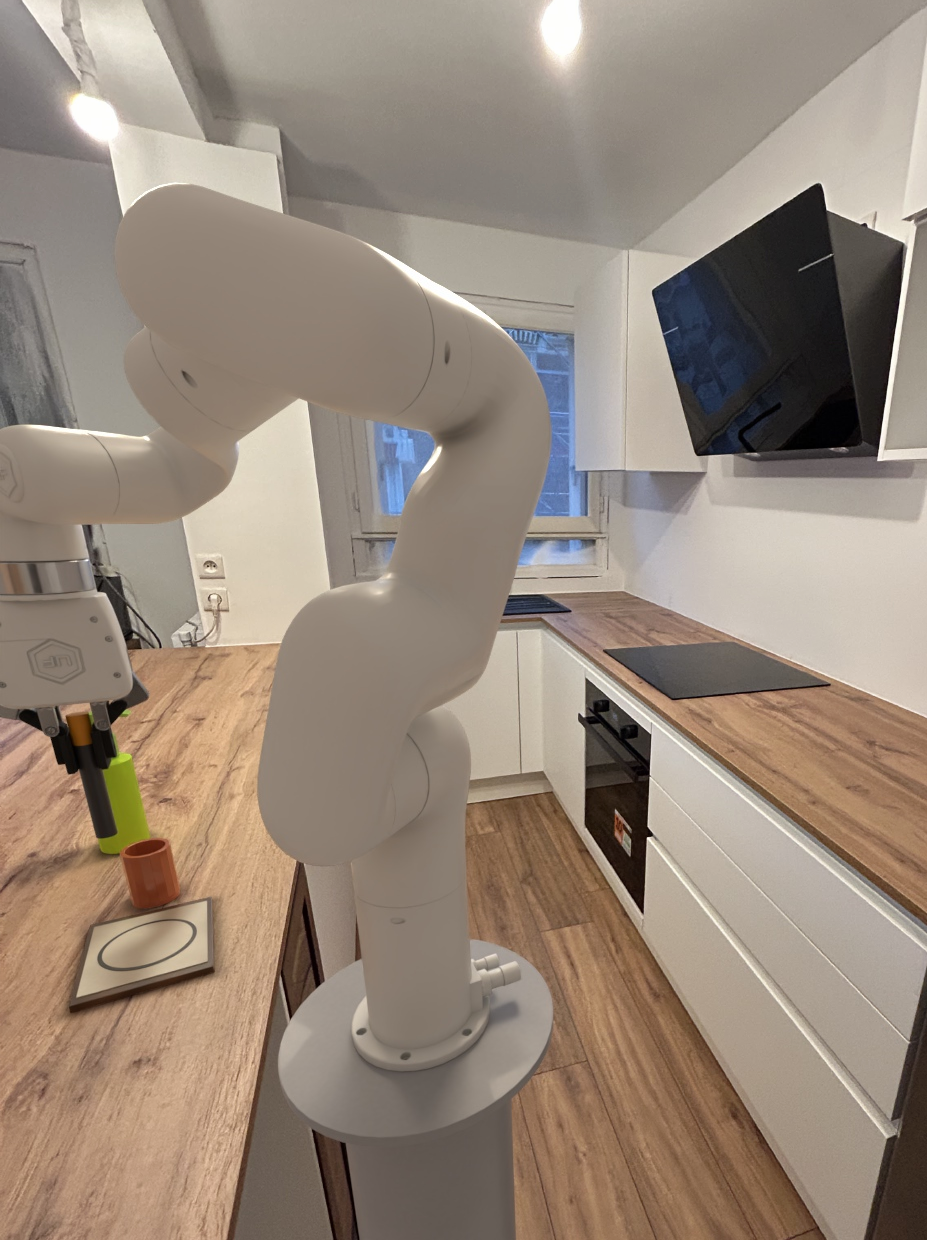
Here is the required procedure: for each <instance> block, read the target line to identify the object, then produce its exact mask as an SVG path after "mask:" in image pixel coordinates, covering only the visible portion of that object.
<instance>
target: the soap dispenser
mask: <svg viewBox="0 0 927 1240" xmlns="http://www.w3.org/2000/svg"><path fill="white" fill-rule="evenodd" d="M87 712H88V713H89V716H90V720H91V724H93V722H94V720H93V716H92V712H91V710H90V711H87ZM131 713H132V710H130V709H126V710H125V711H124V712H123V713H122V714H121V715H120V716H119V717H118V718H127V717H129V716H130V715H131ZM112 734H113V738H114V742H115V746H116V751H117V757H114V758H111V763H110V766H109V769H104V770H103V773H104V777H105V781H106V786H107V790H108V794H109V798H110V802H111V806H112V810H113V814H114V818H115V823H116V827H117V831H118V833H117V834H116V835H114V836H112V837H109V838H103V839H99V838H97V841H98V846H99V849H100V852H102V853H103V854H108V855H115V854H116V855H117V854H119V855H120V851H121V850H122V849H123V848H124V847H126V846H128V845H130V844H132V843H134V842H137V841H141V840H145V839H150V838H152V837H151V833H150V828H149V825H148V820H147V815H146V811H145V807H144V803H143V798H142V795H141V790H140V785H139V781H138V777H137V773H136V768H135V763H134V758H133V755H132V754H130V753H129V752H128V753H127V752H120V749H119V745H118V740H117V736H116V734H115V732H112Z"/></svg>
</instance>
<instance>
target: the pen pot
mask: <svg viewBox="0 0 927 1240" xmlns="http://www.w3.org/2000/svg"><path fill="white" fill-rule="evenodd" d="M119 857H120V861H121V865H122V869H123V873H124V877H125V881H126V885H127V890H128V895H129V897H130V901H131V903H132V904H131V905H132V906H133V907H134V908H137V909H151V908H153V909H154V908H157V907H160V906H164V905H166V904H169V903H170V902H172V901H174V900H175V899H177V898H178V897H179V896H180V894H181V887H180V881H179V876H178V872H177V867H176V862H175V858H174V853H173V850H172V844H171V841H170V840H169V839H167V838H164V837H151V838H150V839H145V840H141V841H137V842H134V843H132V844H130V845H128V846H126V847H124V848H123V849H122V850H121V851H120V853H119Z"/></svg>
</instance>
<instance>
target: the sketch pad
mask: <svg viewBox="0 0 927 1240" xmlns="http://www.w3.org/2000/svg"><path fill="white" fill-rule="evenodd" d="M213 900H214V899H213V897H212V896H209V897H204V898H200V899H195V900H190V901H187V902H183V903H178V904H177V903H176V904H174V905H169V906H166V907H165V906H164V907H161V908H157V909H152V910H148V911H143V912H140V913H139V912H138V913H134V914H131V915H125V916H122V917H118V918H113V919H109V920H105V921H104V920H103V921H100V922H97V923H92V924H90V925H89V928H88V933H87V936H86V940H85V943H84V947H83V951H82V955H81V957H80V958H81V959H80V962H79V967H78V970H77V973H76V976H75V981H74V985H73V987H72V988H73V989H72V992H71V995H70V1000H69V1003H68V1010H69V1013H71V1014H72V1013H76V1012H79V1011H83V1010H85V1009H89V1008H93V1007H97V1006H100V1005H103V1004H104V1005H105V1004H107V1003H111V1002H114V1001H117V1000H121V999H125V998H128V997H132V996H135V995H139V994H142V993H146V992H149V991H153V990H156V989H160V988H163V987H167V986H170V985H174V984H178V983H180V982H181V983H182V982H185V981H187V980H188V981H189V980H192V979H195V978H199V977H203V976H205V975H209V974H213V973H215V971H216V970H215V938H214V937H215V935H214V932H215V931H214V901H213Z"/></svg>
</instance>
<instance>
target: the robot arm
mask: <svg viewBox="0 0 927 1240" xmlns="http://www.w3.org/2000/svg"><path fill="white" fill-rule="evenodd" d="M113 257H114V258H113V259H114V265H115V274H116V278H117V282H118V285H119V288H120V291H121V293H122V295H123V297H124V299H125V301H126V302H127V305H128V306H129V308H130V310H131V312H132V313H133V314H134V316H135V317H136V318H137V319H138V321H139V322H140V323H141V324H142V325H143V326H144V327H142V329H141V330H139V331H138V332H137V333H135V334H134V335H133V336H132V337H131V338H130V340H129V341H128V342H127V344H126V346H125V349H124V354H123V361H122V362H123V369H124V373H125V377H126V380H127V382H128V384H129V388H130V389H131V391H132V393H133V394H134V396H135V398H136V399H137V400H138V402H139V404H140V405H141V406H142V408H143V409H144V410H145V411H146V413H147V414H148V415H149V416H150V417H151V418H152V420H153V421H155V422H156V423H157V424H158V426H159V427H158V428H156V429H154V430H153V431H152V432H150V433H148V434H146V435H142V436H134V435H127V434H122V433H114V432H113V433H112V432H106V431H105V432H104V431H97V430H89V429H82V428H67V427H58V426H51V425H42V424H15V425H8V426H5V427H3V428H0V719H1V718H2V719H7V720H13V721H21V722H23V723H25V724H26V725H29V726H31V727H32V728H34V729H37V730H38V731H40V732H42V734H44V735H45V736H46V737H48V738H50V742H51V746H52V749H53V753H54V757H55V761H56V763H57V765H58V766H62V765H65V769H66V773H67V775H75V774H76V773H78V772H79V767H78V764H77V760H76V756H75V752H74V748H73V744H72V740H71V736H70V733H69V729H68V725H67V722H64V718H63V713H62V710H61V707H62V706H71V705H81V704H89V707H90V711H91V712H92V716H93V720H94V722H93V724H92V728H93V730H92V731H91V733H90V735H91V740H92V744H93V748H94V751H95V755H96V759H97V763H98V767H99V769H102V770H104V769H109V766H110V763H111V758H114V757H117V751H116V746H115V742H114V738H113V734H112V733H113V730H112V725H113V724H114V723H115V722H116V721H117V720H118V718H120V717H119V716H120V715H121V714H122V713H123V712H124V711H125V710H130V709H132V708H134V707H135V706H138V705H140V704H142V703H144V702H147V701H148V700H149V698H150V691H149V690H148V689H147V687H146V686H145V685H144V683H143V682H142V680H140V678H139V677H138V676H137V674H136V673H135V671H134V669H133V665H132V660H131V657H130V654H129V650H128V646H127V644H126V639H125V637H124V634H123V631H122V627H121V625H120V621H119V620H118V617H117V615H116V612H115V609H114V607H113V605H112V603H111V601H110V599H109V597H108V595H107V593H106V592H101V591H98V588H97V585H96V581H95V580H96V579H95V576H94V572H93V568H92V564H91V560H90V554H89V550H88V547H87V542H86V536H85V533H84V529H83V526H85V525H86V526H90V525H91V526H93V525H94V526H95V525H96V526H97V525H105V524H106V525H158V524H165V523H171V522H174V521H176V520H179V519H182V518H184V517H186V516H188V515H190V514H191V513H193V512H195V511H196V510H198V509H200V508H202V507H203V506H204V505H206V504H207V503H209V502H210V501H211V500H213V499H214V498H217V496H219V495H220V494H222V492H225V490H226V489H227V488H228V487H229V485H230V483H231V482H232V480H233V477H234V475H235V471H236V468H237V465H238V461H239V457H240V441H241V440H242V439H243V438H245V437H246V436H248V435H249V434H251V433H252V432H253V431H255V430H256V429H257V428H259V427H261V426H262V425H264V424H265V423H266V422H268V421H269V420H271V419H272V418H273V417H275V416H276V415H278V414H279V413H280V412H282V411H284V410H285V409H286V408H288V407H289V406H291V404H293V403H295V402H296V401H297V400H299V399H300V400H302V401H304V402H307V403H310V404H312V405H315V406H317V407H319V408H323V409H326V410H329V411H331V412H335V413H338V414H341V415H345V416H349V417H353V418H357V419H360V420H365V421H371V422H376V423H380V424H385V425H390V426H394V427H397V428H398V427H399V428H403V429H406V430H411V431H418V432H423V433H426V434H428V435H429V436H430V437H431V438H432V440H433V442H434V449H433V451H432V454H431V456H430V458H429V459H428V461H427V463H425V465H424V467H423V468H422V469H421V471H420V473H419V474H418V476H417V477H416V479H415V480H414V482H413V484H412V486H411V488H410V490H409V492H408V494H407V496H406V499H405V501H404V504H403V506H402V509H401V514H400V518H399V525H398V528H397V529H398V530H397V534H396V538H395V542H394V545H393V549H392V552H391V554H390V557H389V561H388V564H387V567H386V568H385V571H384V573H383V574H382V575H381V576H380V577H379V578H377V579H375V580H369V581H362V582H356V583H350V584H345V585H341V586H338V587H333V588H332V589H328V590H325V591H323V592H322V593H320V594H318V595H317V596H315V597H313V598H312V599H311V600H309V601H308V602H307V603H306V604H305V605H304V606H303V607H301V609H300V610H299V611H298V612H297V613H296V614H295V616H294V617H293V619H292V621H291V622H290V624H289V625H288V627H287V629H286V631H285V633H284V635H283V637H282V640H281V642H280V645H279V649H278V653H277V658H276V662H275V667H274V674H273V679H272V684H271V686H272V687H271V690H270V697H269V702H268V709H267V713H266V714H267V715H266V719H265V720H266V721H265V726H264V732H263V737H262V743H261V748H260V755H259V761H258V767H257V778H256V795H257V805H258V810H259V813H260V817H261V820H262V822H263V825H264V827H265V830H266V831H267V833H268V835H269V836H270V838H271V840H272V841H273V842H274V844H275V845H276V847H278V848H279V849H280V850H281V851H282V852H283V853H284V854H286V856H287V857H288V856H289V857H290V858H292V859H293V860H294V861H297V862H298V863H301V864H304V865H308V866H312V867H322V868H323V867H335V866H340V865H345V864H347V863H350V870H351V881H352V889H353V897H354V906H355V915H356V924H357V931H358V939H359V940H358V941H359V949H360V954H361V955H360V957H361V958H362V966H363V974H364V982H365V991H366V996H365V997H364V999H363V1000H362V1001H361V1003H360V1004H359V1005H358V1007H357V1009H356V1011H355V1013H354V1015H353V1019H352V1024H351V1029H352V1038H353V1043H354V1046H355V1048H356V1050H357V1052H358V1053H359V1054H360V1055H361V1056H362V1057H363V1058H364V1059H365V1060H366V1061H367V1062H369V1063H371V1064H372V1065H374V1066H376V1067H380V1068H383V1069H386V1070H392V1071H400V1072H402V1071H418V1070H423V1069H428V1068H432V1067H435V1066H438V1065H441V1064H444V1063H446V1062H448V1061H450V1060H452V1059H454V1058H456V1057H457V1056H459V1055H460V1054H462V1053H463V1052H465V1051H466V1050H467V1049H468V1048H470V1047H471V1046H472V1045H473V1044H474V1043H475V1042H476V1041H477V1040H478V1038H479V1037H480V1036H481V1034H482V1033H483V1032H484V1030H485V1027H486V1025H487V1023H488V1020H489V1015H490V1000H489V995H490V994H491V993H492V989H494V988H497V987H500V986H506V985H509V984H511V983H514V982H517V981H520V980H521V971H520V968H519V965H518V963H517V962H516V961H514V962H511V963H508V964H505V965H502V966H499V959H498V956H497V954H496V953H495V954H492V955H490V956H487V957H484V958H483V959H480V960H477V961H474V959H471V952H470V939H471V937H470V936H471V935H470V933H471V932H470V918H469V915H470V914H469V900H468V899H469V897H468V896H469V895H468V881H467V879H468V877H467V873H468V871H467V853H466V851H467V850H466V849H467V848H466V821H467V820H466V819H467V806H468V799H469V791H470V784H471V775H472V753H471V746H470V741H469V737H468V735H467V732H466V729H465V728H464V726H463V724H462V722H461V720H460V719H459V718H458V717H457V715H456V714H455V713H454V712H453V711H452V709H450V708H448V707H447V706H446V705H445V704H447V703H449V702H451V701H452V700H455V699H456V698H459V697H460V696H461V695H464V694H465V693H466V692H468V691H469V690H471V689H472V688H474V686H475V685H476V684H477V683H478V682H479V681H480V679H481V678H482V677H483V675H484V673H485V671H486V669H487V666H488V664H489V660H490V658H491V656H492V655H491V654H492V651H493V648H494V645H495V641H496V638H497V634H498V631H499V628H500V625H501V621H502V618H503V616H504V611H505V609H506V605H507V603H508V599H509V596H510V593H511V591H512V590H511V589H512V587H513V583H514V580H515V577H516V573H517V569H518V565H519V561H520V557H521V554H522V551H523V549H524V544H525V541H526V539H527V536H528V533H529V529H530V528H531V527H530V526H531V523H532V520H533V517H534V514H535V511H536V509H537V506H538V503H539V500H540V497H541V494H542V491H543V489H544V484H545V481H546V477H547V473H548V469H549V464H550V459H551V452H552V439H553V438H552V437H553V436H552V434H553V433H552V419H551V418H552V417H551V412H550V407H549V403H548V399H547V395H546V392H545V388H544V387H543V384H542V381H541V380H540V376H539V375H538V373H537V371H536V369H535V368H534V366H533V364H532V362H531V361H530V359H529V358H528V356H527V355H526V353H525V352H524V351H523V350H522V348H521V347H520V346H519V344H518V343H517V342H516V341H515V340H514V339H513V338H512V336H510V335H509V333H508V332H506V330H504V329H503V328H502V327H501V326H500V325H499V324H498V323H497V322H496V321H494V319H492V318H491V317H489V316H488V315H487V314H485V313H484V311H482V310H480V309H479V308H477V307H476V306H474V305H473V304H472V303H470V302H469V301H468V300H466V299H464V298H463V297H461V296H459V295H457V294H456V293H454V292H453V291H451V290H449V289H447V288H446V287H444V286H442V285H440V284H438V283H437V282H435V281H432V280H431V279H429V278H427V277H426V276H424V275H423V274H421V273H419V272H418V271H416V270H414V269H413V268H411V267H409V266H408V265H406V264H405V263H403V262H402V261H400V260H398V259H397V258H395V257H394V256H391V255H390V254H388V253H386V252H384V251H383V250H381V249H379V248H377V247H376V246H373V245H371V244H370V243H368V242H367V241H364V240H362V239H360V238H357V237H355V236H352V235H349V234H347V233H345V232H342V231H339V230H336V229H333V228H330V227H327V226H324V225H322V224H318V223H315V222H312V221H308V220H305V219H302V218H299V217H296V216H292V215H289V214H286V213H282V212H280V211H277V210H275V209H274V210H273V209H271V208H267V207H264V206H261V205H258V204H255V203H252V202H249V201H245V200H243V199H240V198H237V197H233V196H230V195H228V194H225V193H222V192H219V191H216V190H213V189H211V188H208V187H206V186H203V185H199V184H194V183H186V182H185V183H183V182H172V183H167V184H161V185H157V186H156V187H153V188H151V189H149V190H147V191H145V192H144V193H143V194H142V195H141V194H140V195H139V197H138V198H136V199H135V200H134V201H133V202H132V203H131V205H130V206H129V207H128V208H127V209H126V210H125V212H124V214H123V216H122V218H121V220H120V222H119V225H118V228H117V232H116V236H115V239H114V255H113ZM60 706H61V707H60ZM497 967H498V968H497ZM494 968H497V969H494ZM491 969H494V970H491ZM488 970H491V971H488ZM487 971H488V972H487Z"/></svg>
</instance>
